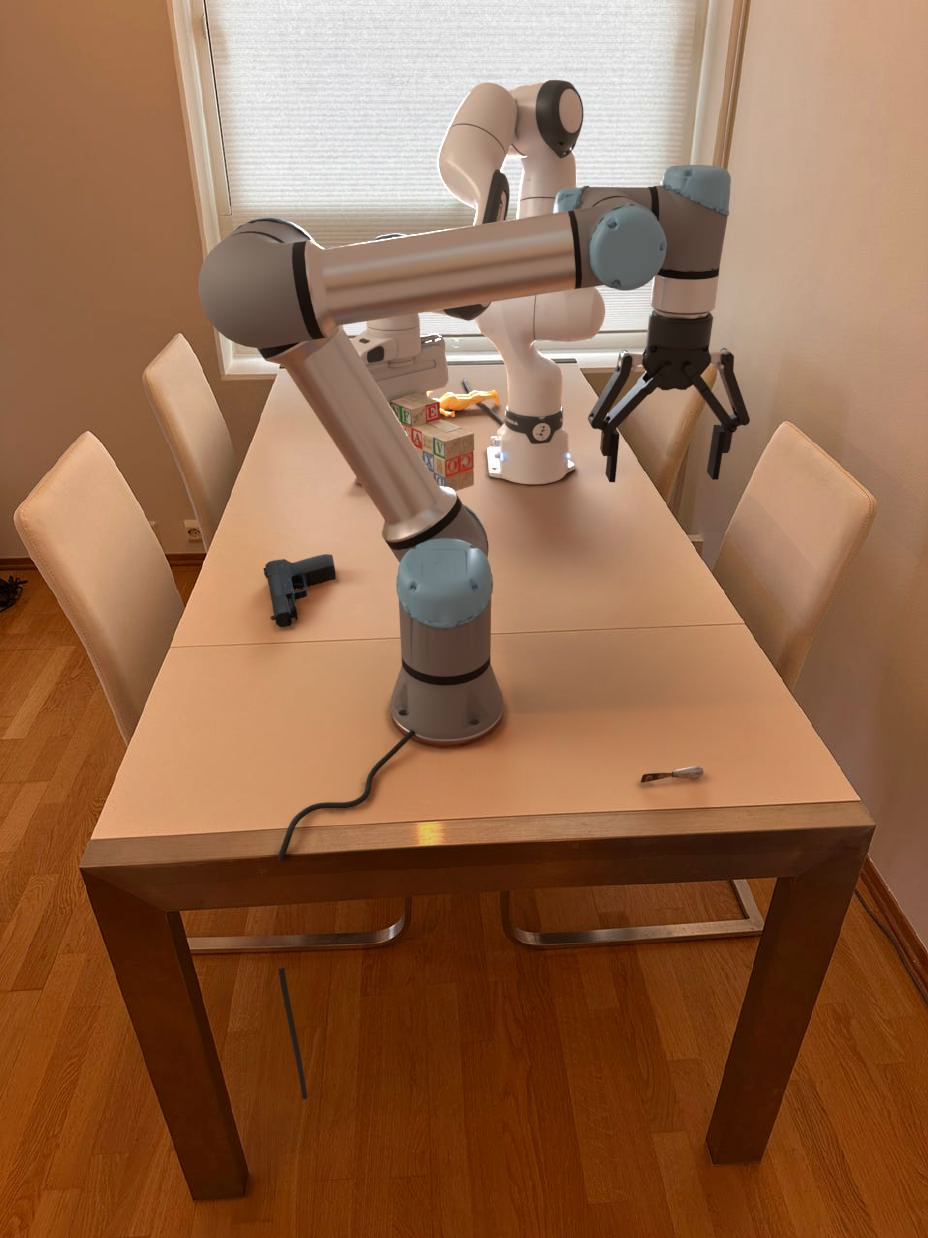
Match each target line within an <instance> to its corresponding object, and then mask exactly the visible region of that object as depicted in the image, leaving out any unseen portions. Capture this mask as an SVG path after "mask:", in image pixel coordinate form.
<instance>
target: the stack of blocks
mask: <svg viewBox="0 0 928 1238" xmlns="http://www.w3.org/2000/svg"><path fill="white" fill-rule="evenodd" d="M432 398H433V397H429V396H428V397H427V396H424V395H422V394H418V393H414V394H410V395H406V396H399V397H395V398H391V399H388V401H387V402H388V403H389V405H390V407H391V408H392V410H393V412H394V413H395V415H396V417H397V418H398V420H399V421H400V423H401V425H402V426H403V428H404V430H405V431H406V433H407V435H408V436H409V438H410V440H411V441H412V443H413V445H414V446H415V448H416V449H417V451H418V453H419V454H420V456H421V458H422V459H423V461H424V463H425V464H426V466H427V468H428V469H429V471H430V473H431V474H432V476H433V477H434V479H435V481H436V482H437V484H438V485H439V486H442V487H447V488H451V489H453V490H454V491H455V492H458V491H460V490H464V489H467V488H470V487H473V486H475V472H474V471H475V470H474V468H475V459H474V457H475V455H474V454H475V453H474V452H475V433H474V432H472V431H470V430H467V429H465V428H463V427H461V426H458V425H457V424H454V423H451V422H450V421H447V420H444V419H441V414H440V402H439V401H437V400H434V399H432Z"/></svg>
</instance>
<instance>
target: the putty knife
mask: <svg viewBox="0 0 928 1238" xmlns="http://www.w3.org/2000/svg"><path fill="white" fill-rule="evenodd" d="M704 772H705V771H704V768H702V767H701V766H697V765H695V766H688V767H683V768H679V769H675V770H673V771H671V772H653V773H652V772H651V773H650V772H649V773H644V774H642V776H641V779H640V783H642V784H645V783H648V782H653V781H659V780H665V779H668V778H673V779H674V778H675V779H693V778H694V779H695V778H700V777H702V776H703V775H704Z"/></svg>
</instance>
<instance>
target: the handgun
mask: <svg viewBox="0 0 928 1238" xmlns="http://www.w3.org/2000/svg"><path fill="white" fill-rule="evenodd" d="M333 556H334V555H332V554H330V553H325V554H319V555H315V556H312V557H307V558H304V559H300V560H298V561H295V562H291V561H289V560H287V559H285V558H282V559H281V558H280V559H274V560H270V561H268V562H267V563H266V564H265V565H264V567H263V575H264V576H265V578H266V579H267V584H268V589H269V594H270V600H271V604H272V610H273V615H270V618H269V619H270V620H272V621H275V625H276V626H277V627H279V628H287V627H292V624H293V619H295V621H298V619H299V616H298V608H297V604H296V603H297V602H296V601H297V600H302V599H305V598H308V588H309V587H312V586H317V585H320V584H323V583H326V582H329V581H330V582H331V581H336V579H337V578H336V577H337V576H336V575H337V574H336V566H335V562H334V557H333ZM296 590H299V591H296Z"/></svg>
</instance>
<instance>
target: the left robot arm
mask: <svg viewBox="0 0 928 1238" xmlns="http://www.w3.org/2000/svg"><path fill="white" fill-rule="evenodd" d="M662 175H663V176H662V180H661V181H660V185H653V186H648V187H645V186H644V187H643V186H641V187H639V186H636V187H635V186H633V187H632V186H590V185H583V186H580V187H579V186H577V188H564V189H562V190H560V191H559V192H558V194H557V196H556V199H555V204H554V213H550V214H544V215H537V216H531V217H525V218H518V219H517V218H512V219H506V221H499V222H493V223H486V224H480V225H474V224H473V225H467V226H462V227H456V228H447V229H443V230H435V231H429V232H422V233H418V234H417V233H416V234H410V235H407V236H403V237H397V238H391V239H384V240H378V241H372V240H371V241H372V242H370V241H366V242H359V243H353V244H345V245H341V246H335V247H334V246H333V247H329V248H327V247H326V248H324V247H322V246H320V245H319V244H318V243H316V241H315V239H313V237H312V236H311V235H310V234H309V233H308V232H307V231H306V230H305V229H304V228H303V227H300V226H299V225H298V224H296V223H294V222H292V221H290V220H287V219H283V218H279V217H262V218H259V217H258V218H255V219H251V220H249V221H248V222H246V223H245V222H244V223H243V224H240V225H238V226H237V228H235V229H234V230H232V231H231V232H230V233H229V234H228V235H227V236H226V237H225V238H224V239H223V240H221V241H220V242H218V243H217V244H216V245H215V246H214V247H213V248H212V249H211V250H210V251H209V252H208V254H207V255H206V257H205V259H204V260H203V263H202V265H201V267H200V271H199V275H198V296H199V300H200V304H201V307H202V311H203V313H204V314H205V316H206V318H207V319H208V321H209V323H210V324H211V325H212V326H213V328H214V329H215V330H216V331H217V332H219V333H220V335H222V336H223V337H224V338H226V339H228V340H229V341H231V342H233V343H235V344H237V345H241V346H243V347H247V348H252V349H257V351H258V352H259V353H260V355H261V356H262V358H263V359H264V361H265V362H269V363H272V364H277V365H281V366H282V367H283V368H284V369H285V370H286V371H287V373H288V375H289V376H290V378H291V379H292V381H293V382H294V384H295V385H296V387H297V388H298V390H299V392H300V393H301V394H302V396H303V398H304V399H305V401H306V402H307V404H308V405H309V407H310V408H311V410H312V412H313V413H314V414H315V416H316V417H317V419H318V421H319V422H320V424H321V425H322V427H323V428H324V430H325V432H326V433H327V434H328V435H329V437H330V439H331V440H332V442H333V444H334V445H335V446H336V448H337V449H338V451H339V452H340V454H341V456H342V458H343V459H344V460H345V461H346V463H347V464H348V466H349V468H350V469H351V471H352V472H353V474H354V475H355V477H356V479H357V478H358V480H359V481H360V483H361V484H360V483H359V484H360V485H361V486H362V487H363V489H364V490H365V492H366V494H367V495H368V497H369V498H370V500H371V501H372V503H373V505H374V506H375V507H376V509H377V510H378V512H379V514H380V515H381V516H382V518H383V520H384V522H383V525H382V529H381V536H382V538H383V540H384V541H385V543H386V545H387V546H388V548H389V549H390V550H391V552H392V553H393V555H394V556H395V558H396V560H397V561H398V562H399V565H398V568H397V575H396V581H395V589H396V594H397V597H398V613H399V615H398V616H399V632H400V634H399V635H400V655H401V667H400V669H399V672H398V675H397V678H396V681H395V684H394V687H393V690H392V693H391V696H390V718H391V721H392V724H393V725H394V727H395V728H396V729H397V731H398V732H399V733H400V734H402V735H403V737H402V738H401V739H400V740H399V741H398V742H397V743H396V744H395V746H393V747H392V748H391V749H390V750H389V751H388V752H387V753H386V754H385V755H384V756H383V757H381V759H379V761H377V762H376V764H375V765H374V766H373V767H372V768H371V770H370V771H369V773H368V775H367V777H366V781H365V787H364V791H363V793H362V794H361V795H360V796H359V797H357V798H355V799H353V800H350V801H338V802H337V801H336V802H334V801H331V802H330V801H329V802H328V801H327V802H326V801H325V802H318V803H314V804H311V805H309V806H306V807H305V808H304V809H302V810H301V811H299V812H298V813H297V814H296V815H294V817H293V818H292V819H291V821H290V822H289V825H288V827H287V829H286V832H285V835H284V838H283V841H282V844H281V847H280V849H279V852H278V854H277V855H278V856H277V861H281V862H282V860H284V859H285V857H286V853H287V851H288V848H289V845H290V842H291V839H292V836H293V833H294V831H295V828H296V827H297V824H298V823H300V822H301V820H302V819H303V818H305V817H306V816H307V815H309V814H310V813H313V812H314V811H318V810H323V809H337V810H338V809H350V808H354V807H357V806H359V805H361V804H362V803H364V802H365V801H366V800H367V799H368V797H369V796H370V793H371V791H372V785H373V780H374V777H375V776H376V774H377V773H378V772H379V771H380V769H381V768H382V767H383V766H384V765H385V764H386V763H387V762H388V761H389V760H390V759H392V758H393V757H394V756H395V755H396V754H397V752H399V751H400V750H401V749H402V747H404V745H406V743H407V742H409V741H410V740H411V741H413V742H415V743H417V744H420V745H421V744H422V745H425V746H430V747H437V748H454V747H455V748H457V747H463V746H467V745H471V744H473V743H476V742H480V741H481V740H483V739H485V738H486V737H488V736H489V735H491V734H492V733H493V732H494V731H495V730H496V729H498V727H499V726H500V724H501V722H502V720H503V717H504V697H503V693H502V690H501V687H500V685H499V682H498V679H497V677H496V674H495V672H494V668H493V666H492V664H491V654H492V653H491V651H492V649H491V648H492V647H491V645H492V643H491V642H492V641H491V640H492V595H493V589H494V578H493V573H492V569H491V563H490V561H489V550H490V549H489V541H488V534H487V531H486V529H485V527H484V525H483V522H482V521H481V519H480V518H479V516H478V515H477V514H476V513H475V512H474V510H473V509H471V508H470V507H469V506H467V505H465V504H464V503H463V502H462V500H461V498H460V497H459V496H458V493H456V492H457V491H454V490H453V489H451V488H447V487H442V486H439V485H438V484H437V482H436V481H435V479H434V477H433V476H432V474H431V473H430V471H429V469H428V468H427V466H426V464H425V463H424V461H423V459H422V458H421V456H420V454H419V453H418V451H417V449H416V448H415V446H414V445H413V443H412V441H411V440H410V438H409V436H408V435H407V433H406V431H405V430H404V428H403V426H402V425H401V423H400V421H399V420H398V418H397V417H396V415H395V413H394V412H393V410H392V408H391V407H390V405H389V403H388V402H387V400H386V398H385V397H384V395H383V393H382V392H381V390H380V389H379V387H378V385H377V384H376V382H375V380H374V379H373V377H372V375H371V374H370V372H369V370H368V369H367V367H366V365H365V364H364V362H363V361H362V359H361V357H360V356H359V354H358V352H357V351H356V349H355V347H354V346H353V344H352V342H351V341H350V340H351V339H350V338H349V336H348V334H347V332H346V331H345V329H344V326H345V325H351V324H358V323H364V322H367V321H371V320H378V319H384V318H391V317H397V316H404V315H410V314H416V313H418V314H422V313H428V312H429V311H436V310H442V309H449V308H455V307H462V306H468V305H475V304H481V303H488V302H494V301H501V300H507V299H514V298H520V297H527V296H533V295H540V294H546V293H552V292H559V291H565V290H572V289H579V288H589V287H595V288H596V287H602V286H605V287H607V288H609V289H614V290H618V291H623V292H625V291H633V290H638V289H640V288H642V287H644V286H645V285H647V284H648V283H650V282H651V281H652V286H651V287H652V288H651V295H650V302H649V303H650V307H651V308H652V310H651V311H650V312H649V314H648V321H647V333H646V340H645V341H646V342H645V348H644V350H643V353H633V352H632V353H631V352H629V351H628V350H626V349H622V350H621V351H620V352H619V354H618V357H617V363H616V368H615V370H614V371H613V372H612V375H611V376H610V378H609V380H608V381H607V383H606V385H605V386H604V389H603V390H602V392H601V394H600V395H599V397H598V398H597V401H596V402H595V404H594V406H593V408H592V409H591V411H590V413H588V414H589V415H588V416H587V420H588V423H589V425H590V426H591V428H592V429H593V430H599V431H601V432H600V433H601V434H600V445H599V449H600V452H601V454H602V456H603V457H606V467H605V476H606V478H607V480H608V482H609V483H616V478H617V467H618V466H617V465H618V457H619V445H620V432H619V431H618V427H619V426H620V425H621V424H623V422H624V421H625V420H626V419H627V418H628V417H629V416H630V415H631V414H632V413H633V411H634V410H635V409H636V408H638V406H640V404H641V403H642V402H643V401H644V400H645V399H646V397H647V396H649V395H651V394H653V392H654V391H655V390H657V388H658V389H660V391H670V390H673V389H674V390H678V391H687V390H688V389H689V388H691V387H692V386H693V387H694V388H695V389H696V391H697V393H698V394H699V395H700V397H701V398H702V399H703V400H704V402H705V403H706V405H707V406H708V407H709V409H710V410H711V411H712V413H713V414H714V415H715V417H716V418H717V420H718V422H720V424H713V428H712V433H711V441H710V447H709V455H708V462H707V467H706V474H708V476H709V477H710V478H711V479H712V481H715V480H716V481H717V480H719V477H720V471H721V465H722V459H723V454H729V453H730V450H731V447H732V446H731V445H732V439H733V433H735V432H736V431H737V430H738V427H740V426H744V427H745V426H748V425H749V424H750V422H751V419H750V415H749V412H748V410H747V407H746V403H745V400H744V398H743V395H742V391H741V389H740V387H739V383H738V381H737V378H736V375H735V372H734V371H735V370H734V368H735V365H734V364H735V355H734V354H733V353H732V352H731V351H730V350H729V349H728V348H726V347H721V348H719V350H718V351H714V352H713V351H712V352H710V344H711V337H712V329H713V323H714V316H713V315H712V313H711V312H712V311H713V310H714V309H715V308H716V303H717V302H716V301H717V294H718V285H719V278H720V268H721V267H720V266H721V260H722V254H723V247H724V242H725V234H726V230H727V229H726V228H727V222H728V217H729V216H730V211H729V210H730V196H731V182H732V177H731V175H730V172H729V171H728V170H727V169H726V168H724V167H721V166H718V165H717V166H715V165H709V164H684V165H671V166H668V167H667V168H666V169H665V170H664V172H663V174H662ZM711 364H713V367H714V368H715V369H716V370H717V371H718V374H719V375H720V379H721V381H722V384H723V387H724V390H725V393H726V396H727V398H728V401H729V404H730V407H731V410H732V414H730V415H729V413H728V412H727V411H726V409H725V408H724V406H723V405H722V403H721V402H720V401H719V400H718V398H717V397H716V395H715V394H714V393H713V391H712V389H711V388H710V387H709V386H708V384H707V383H706V381H705V380H704V378H703V377H702V374H703V373H704V372H705V371H706V370H707V369H708V368H709V366H711ZM640 365H641V366H642V367H643V370H644V371H645V372H644V373H643V374H642V375H640V377H639V378H638V380H637V382H636V384H634V385H633V387H632V388H631V389H630V390H629V391H628V392H627V393H626V394H625V395H624V396H623V397H622V398H621V399H620V401H618V402H617V403H616V405H615V406H614V407H613V405H614V403H615V401H616V400H617V398H618V397H619V395H620V393H621V391H622V390H623V388H624V386H625V385H626V383H627V381H628V379H629V377H630V374H631V373H634V372H635V371H636V369H637V367H638V366H640ZM612 407H613V408H612ZM611 408H612V409H611ZM285 969H286V968H285V967H281V968H278V969H277V970H278V971H277V972H278V978H279V982H280V988H281V994H282V998H283V999H282V1000H283V1004H284V1010H285V1014H286V1019H287V1023H288V1029H289V1034H290V1038H291V1043H292V1048H293V1053H294V1059H295V1063H296V1069H297V1074H298V1080H299V1086H300V1092H301V1098H302V1099H301V1100H303V1101H306V1100H307V1099H308V1090H307V1084H306V1077H305V1073H304V1066H303V1060H302V1055H301V1051H300V1046H299V1040H298V1035H297V1034H298V1033H297V1030H296V1029H297V1028H296V1024H295V1020H294V1014H293V1010H292V1004H291V1000H290V993H289V988H288V983H287V976H286V970H285Z"/></svg>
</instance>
